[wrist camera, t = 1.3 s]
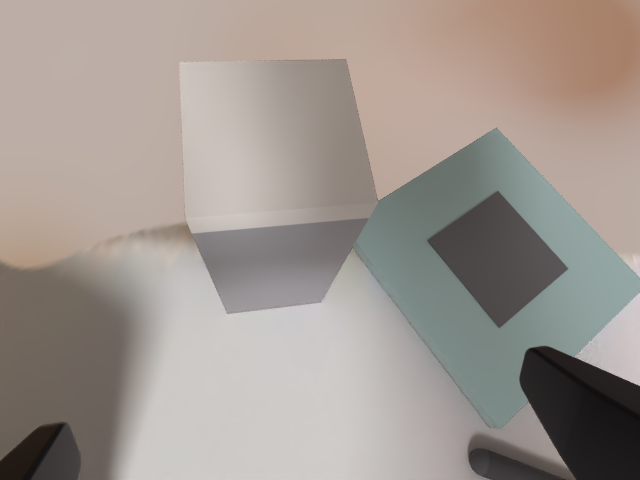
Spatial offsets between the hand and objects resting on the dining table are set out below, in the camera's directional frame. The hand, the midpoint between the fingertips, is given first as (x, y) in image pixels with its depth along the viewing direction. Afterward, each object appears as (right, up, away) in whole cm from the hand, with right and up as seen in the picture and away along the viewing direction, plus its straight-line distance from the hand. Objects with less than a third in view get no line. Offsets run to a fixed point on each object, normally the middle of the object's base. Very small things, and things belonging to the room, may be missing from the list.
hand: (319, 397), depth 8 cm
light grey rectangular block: (-3, +2, +14) cm, 15 cm away
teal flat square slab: (+10, +2, +16) cm, 19 cm away
